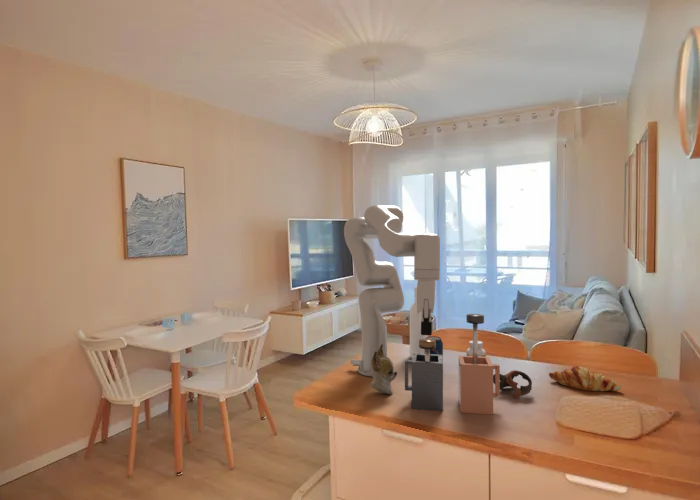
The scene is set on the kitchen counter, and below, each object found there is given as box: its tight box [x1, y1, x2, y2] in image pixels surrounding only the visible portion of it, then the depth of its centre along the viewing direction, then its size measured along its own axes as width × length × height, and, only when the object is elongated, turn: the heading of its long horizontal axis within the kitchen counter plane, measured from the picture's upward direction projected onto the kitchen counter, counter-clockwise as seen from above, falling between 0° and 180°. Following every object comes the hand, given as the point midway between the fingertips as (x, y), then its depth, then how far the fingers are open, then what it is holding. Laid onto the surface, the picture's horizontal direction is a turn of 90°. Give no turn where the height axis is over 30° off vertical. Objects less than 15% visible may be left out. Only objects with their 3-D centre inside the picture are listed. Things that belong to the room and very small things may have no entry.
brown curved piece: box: [493, 369, 533, 399], centre depth 134 cm, size 12×10×8 cm
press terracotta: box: [458, 355, 501, 415], centre depth 123 cm, size 11×9×14 cm
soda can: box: [426, 335, 444, 360], centre depth 159 cm, size 7×7×12 cm
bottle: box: [409, 285, 429, 359], centre depth 174 cm, size 8×8×30 cm
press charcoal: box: [404, 354, 444, 412], centre depth 126 cm, size 11×9×14 cm
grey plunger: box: [465, 313, 485, 364], centre depth 123 cm, size 6×6×18 cm
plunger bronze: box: [419, 339, 436, 362], centre depth 126 cm, size 6×6×18 cm
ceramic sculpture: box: [370, 344, 398, 395], centre depth 134 cm, size 11×9×15 cm
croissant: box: [548, 365, 622, 392], centre depth 139 cm, size 21×10×8 cm, turn 60°
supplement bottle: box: [466, 340, 487, 357], centre depth 149 cm, size 7×7×13 cm
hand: (426, 334), depth 126 cm, fingers closed
